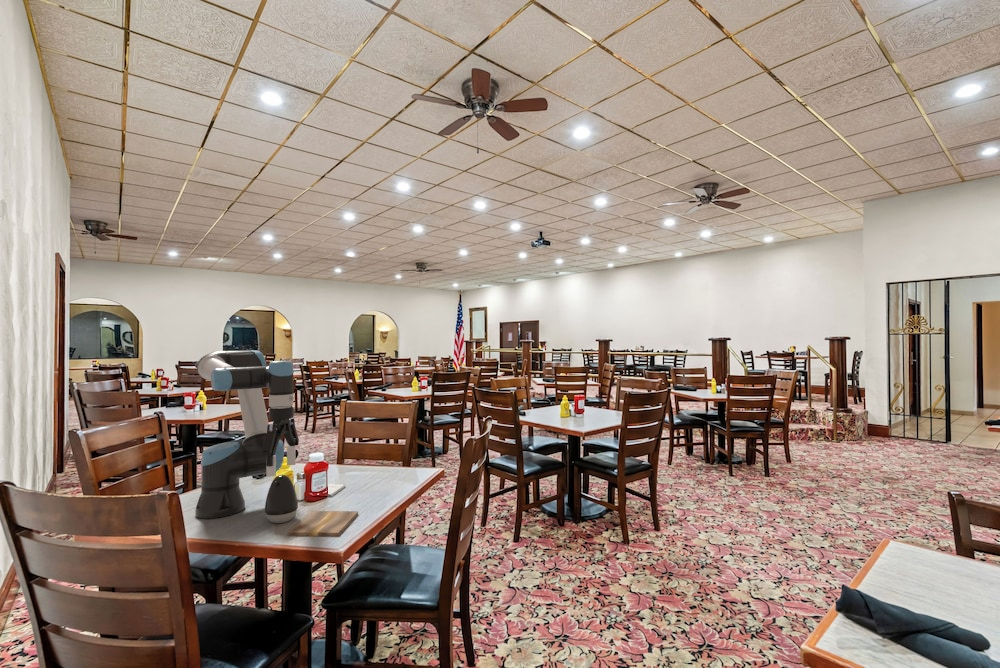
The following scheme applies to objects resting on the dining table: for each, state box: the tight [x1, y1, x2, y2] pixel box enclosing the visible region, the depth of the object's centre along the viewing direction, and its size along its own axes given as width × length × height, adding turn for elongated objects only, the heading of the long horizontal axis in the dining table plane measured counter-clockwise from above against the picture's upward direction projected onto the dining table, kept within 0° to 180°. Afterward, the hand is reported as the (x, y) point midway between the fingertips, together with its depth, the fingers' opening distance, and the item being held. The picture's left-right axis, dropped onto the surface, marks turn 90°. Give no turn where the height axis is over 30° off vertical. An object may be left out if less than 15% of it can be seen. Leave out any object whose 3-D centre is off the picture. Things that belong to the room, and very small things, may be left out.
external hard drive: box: [327, 483, 346, 498], centre depth 189 cm, size 2×8×12 cm
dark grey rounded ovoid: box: [264, 474, 299, 524], centre depth 159 cm, size 10×10×15 cm
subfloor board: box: [287, 510, 359, 537], centre depth 156 cm, size 16×18×1 cm
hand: (281, 470), depth 159 cm, fingers open, 13 cm apart
